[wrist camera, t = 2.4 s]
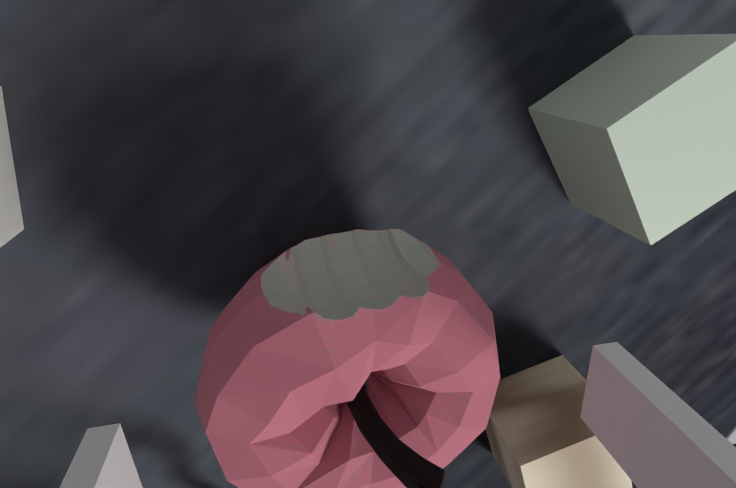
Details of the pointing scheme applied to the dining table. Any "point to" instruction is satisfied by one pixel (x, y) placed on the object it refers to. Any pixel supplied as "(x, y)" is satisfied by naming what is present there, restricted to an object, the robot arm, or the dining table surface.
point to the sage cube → (646, 132)
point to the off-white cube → (8, 185)
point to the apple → (349, 367)
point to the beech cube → (548, 432)
